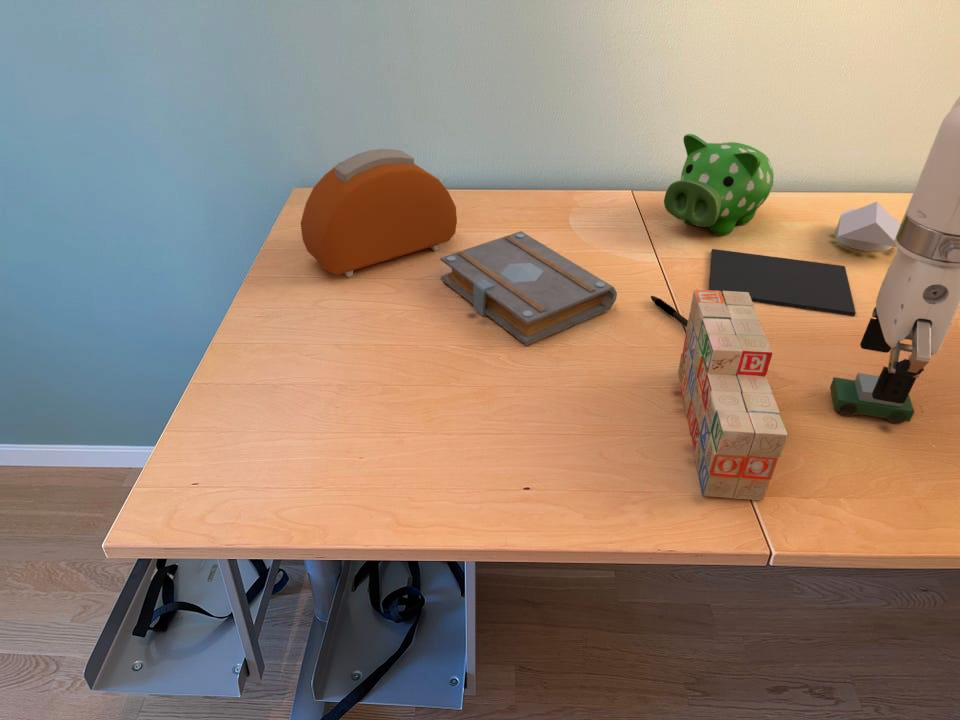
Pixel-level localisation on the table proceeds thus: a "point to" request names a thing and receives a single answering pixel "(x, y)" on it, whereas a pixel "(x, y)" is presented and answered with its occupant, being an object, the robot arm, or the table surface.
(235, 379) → the table surface
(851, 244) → the wedge on round base
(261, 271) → the table surface
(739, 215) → the piggy bank
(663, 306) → the pen
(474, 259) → the book
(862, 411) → the toy car
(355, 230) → the orange toaster
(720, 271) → the mat
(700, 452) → the stack of blocks
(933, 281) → the robot arm
